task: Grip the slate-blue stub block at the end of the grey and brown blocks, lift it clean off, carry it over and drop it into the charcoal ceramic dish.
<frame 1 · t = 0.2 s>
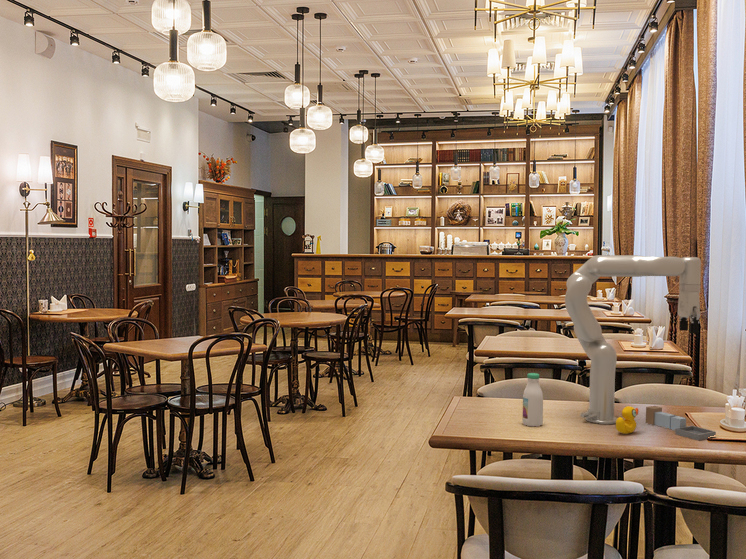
hand: (688, 331, 269), 37 cm above the table, tool pointing down, fingers open, 9 cm apart
dish: (695, 435, 253), on the table
duckling: (627, 433, 255), on the table
stub: (678, 430, 260), on the table
grey and brown blocks: (664, 426, 265), on the table
milk bottle: (532, 425, 267), on the table
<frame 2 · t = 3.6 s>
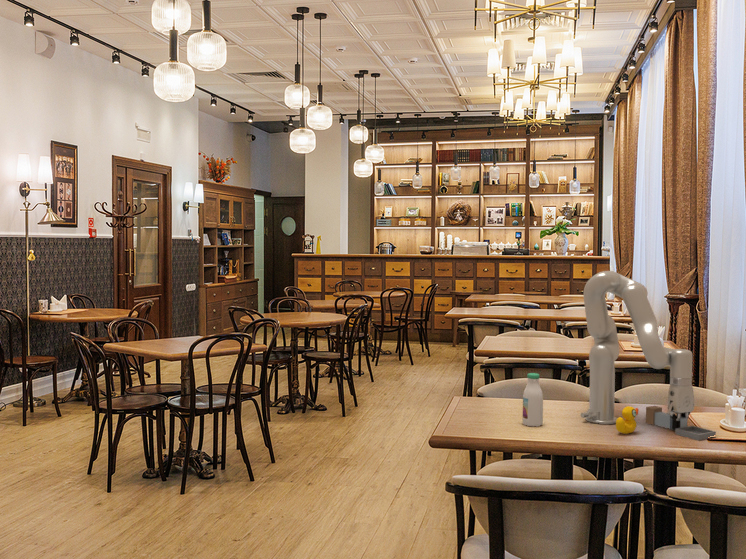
hand: (679, 429, 260), 0 cm above the table, tool pointing down, fingers closed on stub, 3 cm apart
stub: (679, 430, 260), on the table, touching gripper
everything else where it was.
when the fingers open (2 cm above the table, at t = 7.7 s): stub stays where it is, resting on dish.
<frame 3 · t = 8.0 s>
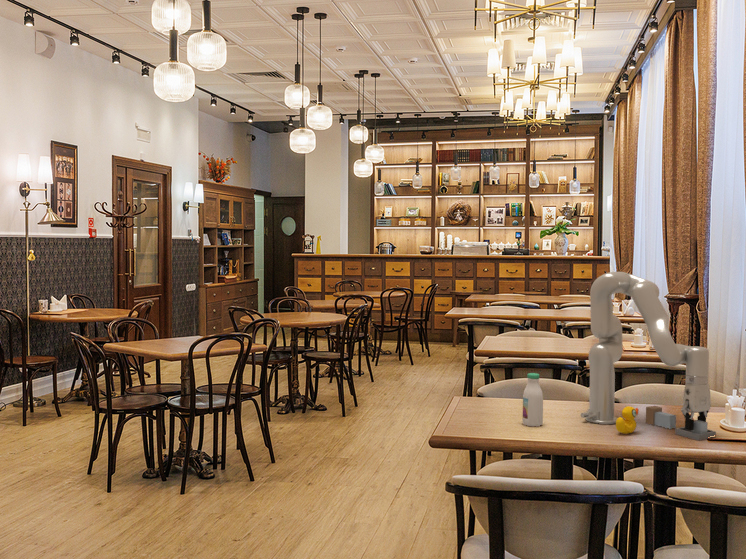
hand: (695, 427, 252), 3 cm above the table, tool pointing down, fingers open, 6 cm apart
stub: (699, 435, 251), point 1 cm above the table, touching dish
everything else where it was.
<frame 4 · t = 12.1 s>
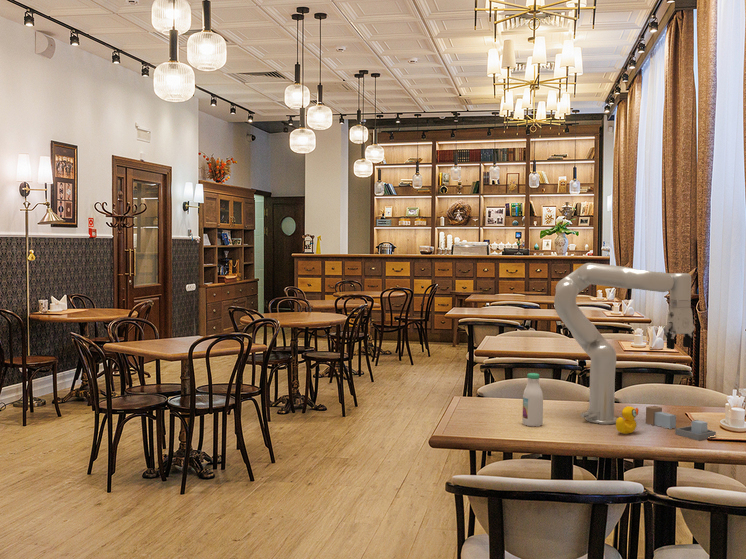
hand: (678, 348, 267), 30 cm above the table, tool pointing down, fingers open, 9 cm apart
nothing on the table moved.
at the end: stub inside the target area on the dish (1.6 cm from its centre), point 0.6 cm above the dish's base; stub moved 9.7 cm from its start; the gripper is holding nothing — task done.
